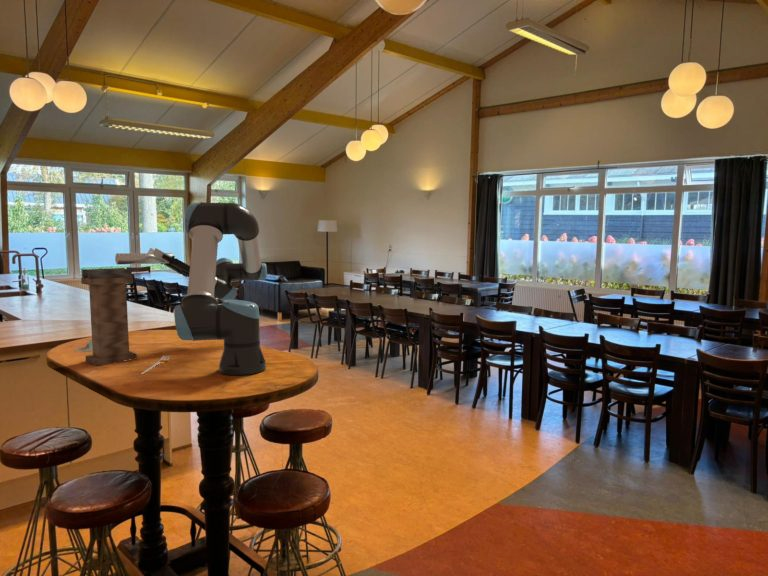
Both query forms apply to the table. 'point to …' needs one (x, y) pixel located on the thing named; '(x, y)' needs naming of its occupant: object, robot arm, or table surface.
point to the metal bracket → (86, 347)
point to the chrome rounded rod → (139, 258)
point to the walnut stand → (108, 314)
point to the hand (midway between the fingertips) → (151, 251)
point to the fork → (155, 364)
